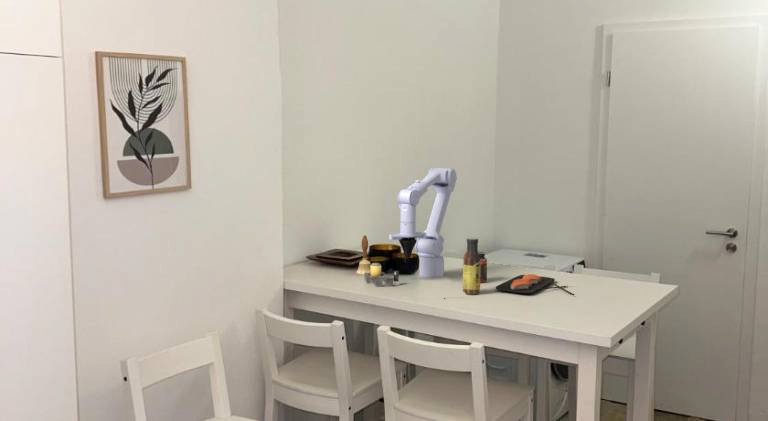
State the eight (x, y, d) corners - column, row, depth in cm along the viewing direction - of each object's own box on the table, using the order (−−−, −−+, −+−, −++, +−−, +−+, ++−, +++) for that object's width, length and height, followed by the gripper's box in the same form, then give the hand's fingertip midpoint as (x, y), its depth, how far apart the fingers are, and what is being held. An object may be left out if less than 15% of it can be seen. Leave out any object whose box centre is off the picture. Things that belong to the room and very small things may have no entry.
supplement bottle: (486, 280, 292) (487, 251, 291) (486, 283, 286) (487, 254, 285) (470, 279, 293) (471, 251, 291) (471, 283, 287) (471, 253, 285)
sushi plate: (521, 278, 298) (521, 269, 298) (597, 288, 283) (597, 278, 282) (492, 293, 273) (492, 282, 273) (574, 304, 258) (574, 293, 258)
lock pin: (398, 284, 278) (398, 270, 277) (399, 285, 276) (399, 271, 275) (376, 284, 277) (376, 271, 276) (377, 285, 275) (377, 272, 274)
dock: (406, 279, 292) (406, 268, 292) (414, 289, 275) (415, 278, 275) (362, 280, 289) (362, 269, 289) (368, 290, 273) (368, 279, 272)
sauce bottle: (479, 295, 267) (480, 240, 264) (461, 294, 268) (462, 239, 265) (480, 291, 273) (482, 237, 271) (463, 290, 274) (464, 236, 272)
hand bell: (375, 277, 294) (375, 237, 292) (353, 277, 295) (353, 237, 293) (375, 273, 303) (375, 234, 301) (354, 273, 303) (355, 233, 301)
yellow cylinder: (380, 279, 285) (380, 262, 285) (381, 282, 282) (382, 264, 281) (369, 279, 285) (369, 262, 284) (371, 282, 281) (371, 265, 280)
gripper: (420, 219, 286) (419, 254, 287) (385, 221, 280) (385, 257, 281) (429, 222, 279) (428, 258, 281) (394, 224, 273) (393, 260, 275)
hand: (407, 258), depth 281 cm, fingers closed
